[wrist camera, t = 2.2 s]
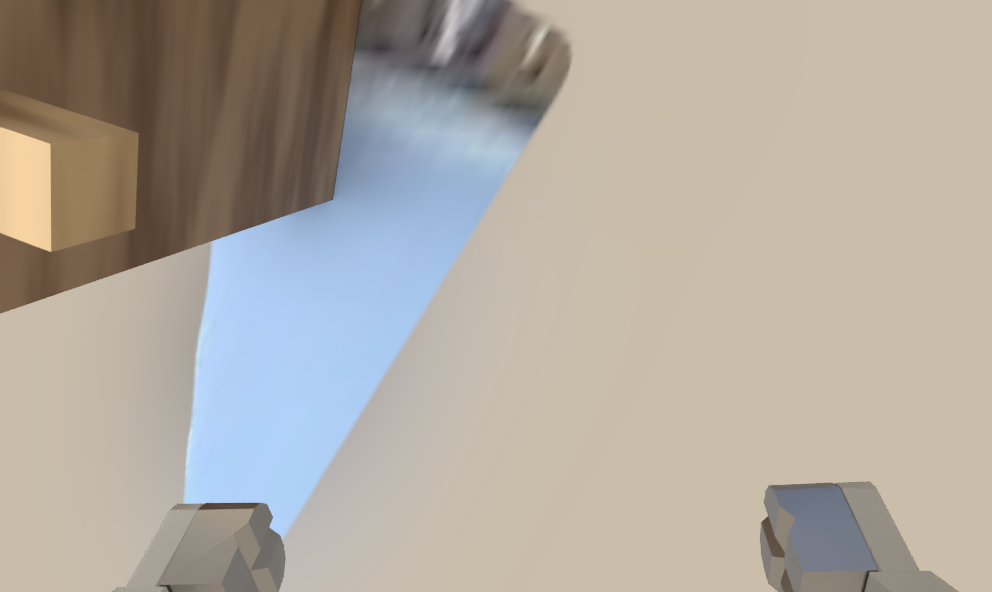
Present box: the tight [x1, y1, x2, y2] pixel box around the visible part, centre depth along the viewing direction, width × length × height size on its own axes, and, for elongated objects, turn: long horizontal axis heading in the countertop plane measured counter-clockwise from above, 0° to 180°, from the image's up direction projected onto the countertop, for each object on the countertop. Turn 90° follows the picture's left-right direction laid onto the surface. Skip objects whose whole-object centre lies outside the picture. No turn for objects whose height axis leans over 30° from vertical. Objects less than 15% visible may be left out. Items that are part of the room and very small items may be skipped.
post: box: [0, 0, 361, 313], centre depth 37 cm, size 4×16×26 cm, turn 166°
